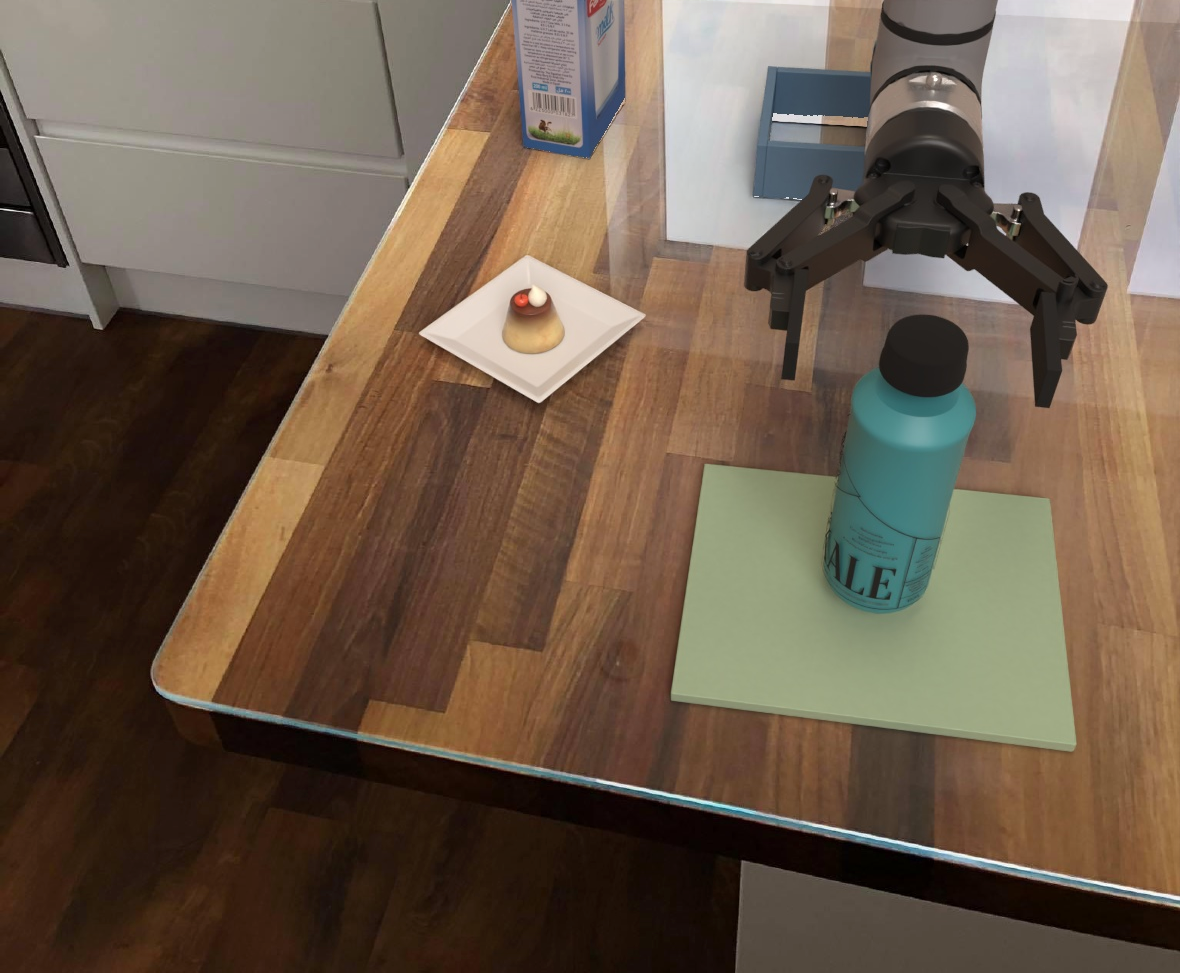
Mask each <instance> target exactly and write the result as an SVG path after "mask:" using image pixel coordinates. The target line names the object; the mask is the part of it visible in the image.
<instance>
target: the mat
mask: <svg viewBox="0 0 1180 973" xmlns="http://www.w3.org/2000/svg"><path fill="white" fill-rule="evenodd" d="M702 471H703V472H702V479H701V485H700V491H699V498H698V505H697V511H696V512H697V513H696V519H695V526H694V534H693V538H692V540H693V541H692V544H691V545H692V546H691V553H690V560H689V565H688V566H689V567H688V573H687V581H686V586H685V592H684V601H683V606H682V613H681V622H680V628H679V634H678V641H677V647H676V655H675V663H674V668H673V676H672V681H671V688H670V701H671V702H677V703H678V702H679V703H687V704H695V705H701V706H703V705H704V706H711V707H718V708H726V709H734V710H740V711H741V710H742V711H750V712H756V713H757V712H758V713H765V714H774V715H780V716H788V717H795V718H805V719H813V720H820V721H828V722H834V723H843V724H851V725H857V726H858V725H859V726H868V727H874V728H883V729H890V730H897V731H905V732H912V733H913V732H915V733H921V734H930V735H937V736H938V735H939V736H944V737H952V738H961V739H968V740H970V739H971V740H975V741H985V742H991V743H992V742H993V743H1000V744H1008V745H1016V746H1022V747H1030V748H1037V749H1038V748H1039V749H1046V750H1055V751H1063V752H1069V753H1070V752H1071V753H1073V752H1074V751H1075V749H1076V747H1077V745H1078V744H1077V743H1078V742H1077V736H1076V727H1075V716H1074V709H1073V699H1072V698H1073V697H1072V689H1071V688H1072V687H1071V679H1070V671H1069V662H1068V661H1069V660H1068V653H1067V652H1068V651H1067V643H1066V634H1065V625H1064V616H1063V607H1062V596H1061V589H1060V580H1059V571H1058V570H1059V569H1058V559H1057V552H1056V544H1055V543H1056V541H1055V535H1054V534H1055V533H1054V524H1053V514H1052V506H1051V499H1050V498H1049V497H1039V496H1029V495H1019V494H1009V493H999V492H991V491H990V492H989V491H980V490H972V489H971V490H970V489H960V488H954V490H953V494H952V497H951V501H950V512H949V508H948V511H947V517H946V521H945V525H944V528H943V532H942V536H941V541H942V542H941V543H939V547H938V551H937V554H936V558H935V562H934V567H935V568H934V569H932V573H931V577H930V580H929V584H928V586H927V589H926V590H925V593H923V595H922V596H923V597H922V596H921V597H920V598H919V600H918V601H916V602H915V603H914V604H913V605H911V606H909V607H908V608H906V609H903V610H901V611H897V612H893V613H885V614H882V613H871V612H866V611H863V610H860V609H857V608H855V607H853V606H851V605H849V604H847V603H846V602H844V601H843V600H842V599H840V598H839V597H838V596H837V595H836V594H835V593H834V591H833V590H832V588H831V587H830V585H829V583H828V581H827V579H826V577H825V576H826V575H824V574H825V571H824V566H823V563H824V555H825V543H824V540H826V537H825V534H826V533H827V532H828V530H829V527H830V525H827V523H828V522H829V521H828V517H830V518H831V516H832V515H831V514H830V513H831V512H832V511H833V505H834V500H835V497H834V496H835V494H836V489H835V488H837V487H836V485H837V484H836V483H837V480H838V476H837V478H836V476H831V475H822V474H812V473H802V472H801V473H800V472H794V471H793V472H791V471H781V470H774V469H773V470H772V469H763V468H762V469H761V468H751V467H744V466H743V467H742V466H732V465H723V464H713V463H704V465H703V470H702ZM835 478H836V479H835ZM835 484H836V485H835ZM833 489H835V490H834V491H833ZM833 492H835V494H834V493H833ZM833 494H834V496H832V495H833ZM833 498H834V499H833ZM831 500H832V501H831ZM830 506H832V508H831V507H830ZM830 509H832V511H831V510H830ZM948 515H949V516H948ZM830 518H829V519H830ZM947 519H948V520H947ZM830 521H831V519H830ZM946 522H947V524H946ZM828 524H830V523H828ZM945 526H946V527H945ZM826 529H827V531H826ZM944 530H945V531H944ZM943 534H944V535H943ZM827 537H828V534H827ZM942 537H943V538H942ZM826 545H827V544H826ZM940 545H941V546H940ZM823 546H824V549H823ZM939 548H940V549H939ZM938 552H939V553H938ZM822 556H823V560H822V564H821V558H822ZM937 556H938V557H937ZM936 559H937V561H936ZM935 563H936V564H935ZM822 568H823V569H822ZM823 571H824V572H823Z"/></svg>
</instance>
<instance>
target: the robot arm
mask: <svg viewBox="0 0 1180 973" xmlns="http://www.w3.org/2000/svg"><path fill="white" fill-rule="evenodd" d="M998 2H999V0H882V3H881V11H880V15H879V22H878V28H877V35H876V39H875V40H874V43H873V47H872V55H871V59H870V63H869V72H870V79H871V92H870V110H869V116H868V121H867V128H866V133H865V143H864V144H865V145H864V147H865V158H864V169H863V180H862V185H861V186H860V187H859V188H857V190H856V191H850V190H844V189H837V188H832V185H833V179H832V178H831V177H830V176H827V175H818V176H816V177H815V178H814V180H813V183H812V185H811V188H810V191H809V194H808V195H807V196H806V197H805V198H803V199H802V200H799V202H797V204H796V205H795V206H793V207H792V208H791V209H790V210H789V211H787V213H786V214H785V215H783V217H781V219H779V220H778V221H777V222H776V223H775V224H774V225H772V226H771V227H770V229H768V230H767V231H766V232H765V233H764V234H762V235H761V237H760V238H758V239H757V240H756V241H755V242H754V243H753V244H752V245H751V246H749V247H748V248H747V249H746V252H745V254H746V255H745V267H744V282H743V287H744V288H745V290H747V291H750V292H759V291H762V290H766V291H768V292H769V293H770V302H769V309H768V318H767V320H768V322H767V325H768V326H769V328H770V330H777V331H786V334H785V342H784V351H783V359H782V360H783V361H782V367H781V368H782V369H781V378H780V379H781V380H785V381H792V382H793V381H794V382H795V381H796V374H797V367H798V366H797V365H798V358H799V349H800V342H801V334H802V326H803V319H804V311H805V310H804V309H805V302H806V301H805V300H806V294H807V291H808V290H810V289H812V288H814V287H815V286H818V285H819V284H820V283H822V282H824V281H826V280H827V279H829V278H831V277H833V276H834V275H837V274H838V273H839V272H842V271H843V270H844V269H847V268H848V267H849V266H851V265H853V264H855V263H857V262H858V261H860V260H861V261H863V262H865V263H866V262H868V261H871V260H872V259H873V258H875V257H876V256H879V255H881V254H882V253H885V251H887V250H890V251H892V252H891V253H892V255H902V256H903V255H904V256H906V255H921V256H925V257H928V258H935V259H936V258H937V259H945V257H948V258H949V259H951V260H952V261H953V262H954V263H956V264H957V265H958V266H960V268H962V269H963V270H964V271H966V272H971V271H976V272H977V273H978V274H979V275H981V276H982V277H983V278H985V279H986V280H987V281H988V282H990V283H991V284H992V285H994V286H995V287H996V288H997V289H998V290H1000V291H1001V292H1003V294H1005V295H1006V296H1008V297H1009V298H1010V299H1012V300H1013V301H1014V302H1015V303H1016V304H1018V305H1019V306H1020V307H1021V308H1023V309H1024V310H1025V311H1027V312H1028V313H1029V314H1031V315H1032V316H1033V318H1032V321H1031V324H1030V328H1029V333H1030V334H1029V335H1030V350H1031V352H1030V353H1031V363H1032V364H1031V366H1032V380H1033V381H1032V382H1033V397H1034V407H1036V408H1043V409H1050V408H1051V405H1052V403H1053V401H1054V396H1055V393H1056V390H1057V387H1058V384H1059V382H1060V378H1061V376H1062V372H1063V364H1062V362H1063V361H1062V360H1065V361H1068V360H1069V357H1070V356H1071V354H1072V351H1073V348H1074V345H1075V342H1076V339H1077V336H1078V331H1077V323H1076V322H1078V323H1080V324H1082V325H1087V326H1088V325H1093V324H1095V323H1096V321H1097V319H1098V316H1099V313H1100V311H1101V308H1102V305H1103V302H1104V299H1105V297H1106V293H1107V291H1108V288H1109V285H1108V283H1107V282H1106V281H1105V279H1104V278H1103V277H1102V276H1101V275H1100V274H1099V273H1098V272H1097V271H1096V270H1095V268H1094V267H1093V266H1092V265H1091V264H1090V263H1089V262H1088V260H1087V259H1085V257H1084V256H1083V255H1082V254H1081V253H1080V252H1079V251H1078V249H1077V248H1075V246H1074V245H1073V244H1072V242H1070V241H1069V240H1068V238H1066V236H1065V235H1064V234H1063V233H1062V232H1061V231H1060V230H1059V229H1058V227H1057V226H1055V224H1054V223H1053V222H1052V221H1051V219H1049V217H1048V216H1047V215H1046V214H1045V211H1044V208H1043V205H1042V204H1043V203H1042V201H1041V198H1040V196H1039V195H1038V194H1037V193H1034V192H1030V191H1027V192H1026V191H1025V192H1021V193H1020V194H1019V197H1018V200H1017V203H997V202H994V201H993V199H992V198H991V196H989V195H988V193H987V192H986V187H985V186H986V184H985V181H986V180H985V153H984V135H983V108H982V92H983V91H982V88H983V77H984V71H985V67H986V61H987V57H988V53H989V49H990V48H989V47H990V43H991V39H992V34H993V29H994V24H995V20H996V14H997V6H998ZM844 213H851V215H852V216H851V217H849V218H847V219H846V220H844V221H842V222H840V223H838V224H837V225H835V226H833V225H834V224H835V219H837V218H839V217H840V216H841V215H842V214H844ZM826 226H827V227H830V226H833V227H831V228H830V229H827V230H825V231H824V232H823V230H824V228H825V227H826ZM998 228H1000V229H1001V230H999V229H998ZM1002 231H1003V232H1002Z"/></svg>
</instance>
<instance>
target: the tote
mask: <svg viewBox="0 0 1180 973" xmlns="http://www.w3.org/2000/svg"><path fill="white" fill-rule="evenodd" d="M870 92H871V79H870V71H863V70H861V71H860V70H846V69H845V70H844V69H843V70H842V69H827V68H825V69H824V68H808V67H807V68H806V67H790V66H777V65H776V66H775V65H774V66H772V65H768V66H767V72H766V79H765V86H764V93H763V100H762V106H761V114H760V120H759V126H758V135H757V142H756V152H755V162H754V163H755V164H754V178H753V179H754V180H753V189H752V197H753V196H759V197H762V198H763V197H769V198H768V199H773V198H782V199H781V200H784V199H783V198H786V197H789V199H793V198H797V199H803V198H805V197H806V196H807V195H808V194H809V191H810V188H811V185H812V183H813V180H814V178H815V177H816V176H818V175H827V176H830V177H831V178H832V179H833V185H832V188H837V189H844V190H850V191H856V190H857V188H859V187H860V186H861V185H862V180H863V169H864V158H865V146H864V145H863V146H861V145H845V144H833V143H832V144H830V143H815V142H798V141H786V140H785V141H783V140H771V135H770V133H772V128H771V125H772V126H773V121H772V117H773V113H777V114H787V115H789V114H794V115H803V116H807V115H810V116H813V115H817V116H818V115H823V116H824V115H825V116H843V117H852V118H853V117H858V118H864V117H868V116H869V110H870Z"/></svg>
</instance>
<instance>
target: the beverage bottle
mask: <svg viewBox="0 0 1180 973" xmlns="http://www.w3.org/2000/svg"><path fill="white" fill-rule="evenodd" d="M969 348H970V345H969V339H968V337H967V335H966V333H965V332H964V330H963V329H962V328H961V327H960V326H959V325H957V324H956V323H955V322H953V321H951V320H950V319H947V318H945V317H941V316H938V315H933V314H911V315H907V316H905V317H903V318H899V320H897V321H895V323H894V324H893V325H892V326H891V327H890V329H889V330H888V332H887V334H886V338H885V341H884V345H883V347H882V349H881V352H880V355H879V360H878V366H876V367H874V368H873V369H871V370H869V371H867V372H866V373H865V374H864V375H863V376H861V378H860V379H859V380H858V381H857V383H856V384H855V385H854V388H853V389H852V393H851V398H850V412H849V414H847V417H849V418H848V423H847V426H846V425H844V427H845V426H846V430H845V432H844V433H843V437H842V438H841V443H840V447H841V448H840V449H839V455H838V457H839V458H838V462H837V470H836V472H835V474H836V476H835V477H836V478H837V477H838V480H837V483H836V484H837V485H836V484H835V485H836V487H837V488H835V489H836V494H835V492H833V493H834V494H835V496H834V494H833V495H832V496H834V497H835V500H834V505H833V511H832V509H830V510H831V511H832V512H831V513H830V514H831V515H832V516H831V518H830V517H828V521H829V522H828V523H830V524H828V523H827V525H830V527H829V530H828V532H827V533H826V534H825V537H826V540H824V543H825V555H824V563H823V566H824V571H825V574H824V575H826V576H825V577H826V579H827V581H828V583H829V585H830V587H831V588H832V590H833V591H834V593H835V594H836V595H837V596H838V597H839V598H840V599H842V600H843V601H844V602H846V603H847V604H849V605H851V606H853V607H855V608H857V609H860V610H863V611H866V612H871V613H882V614H885V613H893V612H897V611H901V610H903V609H906V608H908V607H909V606H911V605H913V604H914V603H915V602H916V601H918V600H919V598H920V597H921V596H922V595H923V593H925V590H926V589H927V586H928V584H929V580H930V577H931V573H932V569H934V568H935V567H934V562H935V558H936V554H937V551H938V547H939V543H941V542H942V541H941V536H942V532H943V528H944V525H945V521H946V517H947V511H948V508H949V512H950V501H951V497H952V494H953V490H954V489H955V486H956V483H957V479H958V477H959V472H960V469H961V465H962V463H963V459H964V456H965V452H966V448H967V446H968V441H969V438H970V434H971V432H972V430H973V427H974V425H975V423H976V419H977V406H976V401H975V399H974V396H973V395H972V393H971V391H970V390H969V388H968V387H967V385H966V384H964V380H965V376H966V374H967V373H966V372H967V367H968V363H967V361H968V355H969ZM836 478H835V479H836ZM835 489H833V491H834V490H835ZM833 499H834V498H833ZM831 501H832V500H831ZM830 507H831V508H832V506H830ZM948 516H949V515H948ZM829 518H830V519H831V521H830V519H829ZM947 520H948V519H947ZM946 524H947V522H946ZM945 527H946V526H945ZM826 531H827V529H826ZM944 531H945V530H944ZM827 534H828V537H827ZM943 535H944V534H943ZM942 538H943V537H942ZM826 544H827V545H826ZM940 546H941V545H940ZM823 549H824V546H823ZM939 549H940V548H939ZM938 553H939V552H938ZM937 557H938V556H937ZM822 560H823V556H822V558H821V564H822ZM936 561H937V559H936ZM935 564H936V563H935ZM822 569H823V568H822ZM824 571H823V572H824ZM922 597H923V596H922Z"/></svg>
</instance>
